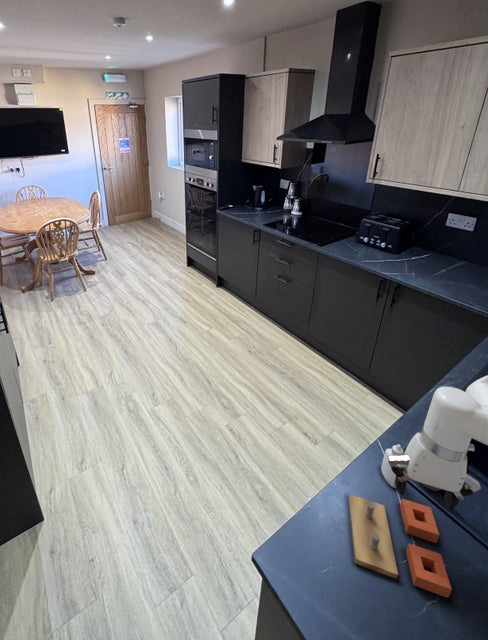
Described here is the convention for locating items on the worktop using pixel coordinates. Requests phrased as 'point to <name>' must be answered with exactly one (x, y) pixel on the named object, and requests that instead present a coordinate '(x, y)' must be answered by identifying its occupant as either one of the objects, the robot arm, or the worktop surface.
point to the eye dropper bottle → (386, 467)
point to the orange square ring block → (425, 579)
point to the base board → (371, 536)
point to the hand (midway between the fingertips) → (423, 496)
